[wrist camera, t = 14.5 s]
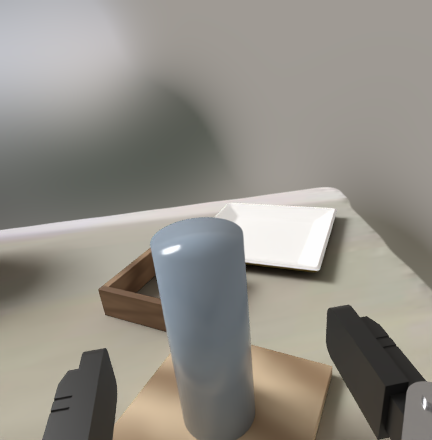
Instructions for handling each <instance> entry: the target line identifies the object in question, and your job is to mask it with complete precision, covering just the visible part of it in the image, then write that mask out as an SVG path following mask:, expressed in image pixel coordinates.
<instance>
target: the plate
mask: <svg viewBox="0 0 432 440" xmlns="http://www.w3.org/2000/svg"><path fill="white" fill-rule="evenodd" d="M336 212H337V209H334V208H319V207H301V206H283V205H264V204H246V203H227V204H226V205H225V206H224V208H223V209H222V210H221V211H220V212H219V213H218V214H217V215H216V216H215V217H214V218H221V219H226V220H229V221H232V222H234V223H236V224H237V225H238V226H240V228H241V229H242V231H243V238H244V252H245V264H249V265H257V266H265V267H273V268H282V269H290V270H298V271H306V272H318V271H319V270H320V267H321V264H322V261H323V257H324V254H325V250H326V247H327V243H328V240H329V236H330V233H331V230H332V226H333V223H334V219H335V216H336Z"/></svg>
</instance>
